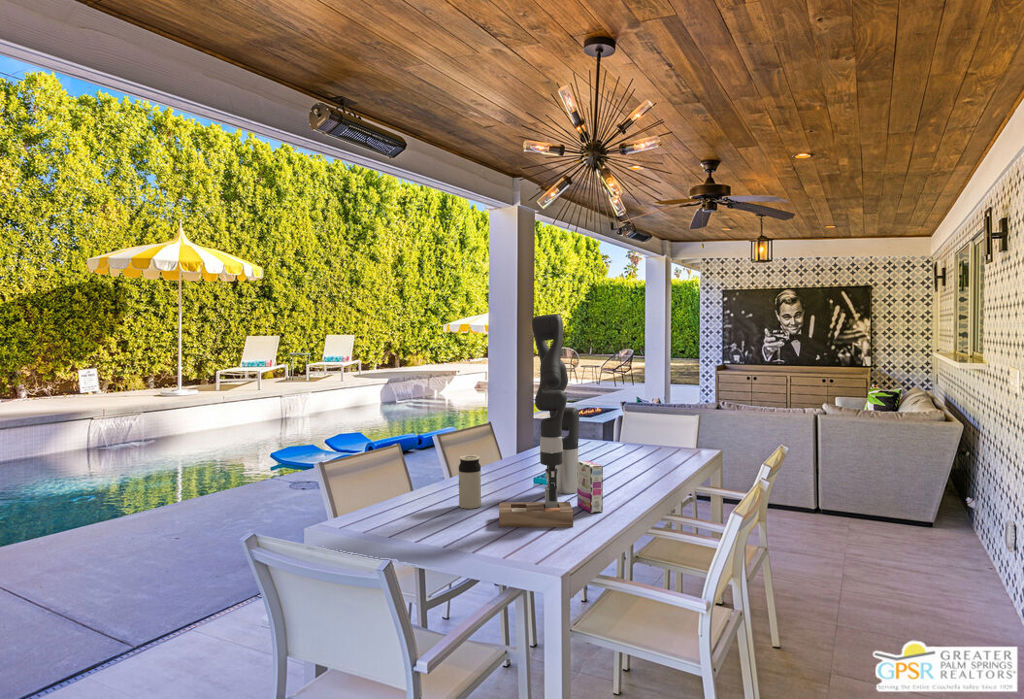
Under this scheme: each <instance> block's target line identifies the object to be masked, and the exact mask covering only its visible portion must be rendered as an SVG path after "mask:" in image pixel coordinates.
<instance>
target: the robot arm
mask: <svg viewBox="0 0 1024 699" xmlns="http://www.w3.org/2000/svg"><path fill="white" fill-rule="evenodd" d="M531 330H532V334H533V338H534V341H535V346H536V348H537V353H538V356H539V362H540V367H539V385H538V389H537V392H536V394H535V398H534V404H535V407H536V409H537V410H538V411H540V412H549V417H545V418H542V419H541V421H540V440H539V449H540V450H539V463H540V465H542V466H546V468H545V470H544V471H545V479H546V484H547V487H548V489H549V501H550V502H554V501H556V489H557V494H565V495H566V494H567V495H568V494H575V493H577V462H578V461H579V439H580V438H579V433H580V432H579V431H580V412H579V409H578V408H577V407H573V406H572V407H570V406H569V407H568V406H567V402H568V398H567V394H566V392H565V390H566V388H567V387H568V383H569V376H568V371H567V367H566V364H565V362H564V361H563V360H562V359H561V358H562V351H563V342H564V330H565V329H564V322H563V319H562V316H561V315H560V313H559V314H558V313H553V314H552V313H551V314H543V315H537V316H534V317H533V318H532V320H531ZM546 341H547V342H548V341H552V344H551V345H550V347H549V345H548V343H547V342H546ZM562 431H563V432H565V431H566V432H567V431H568V435H566V436H564V437H562V436H563V434H562V433H563V432H562Z"/></svg>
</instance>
